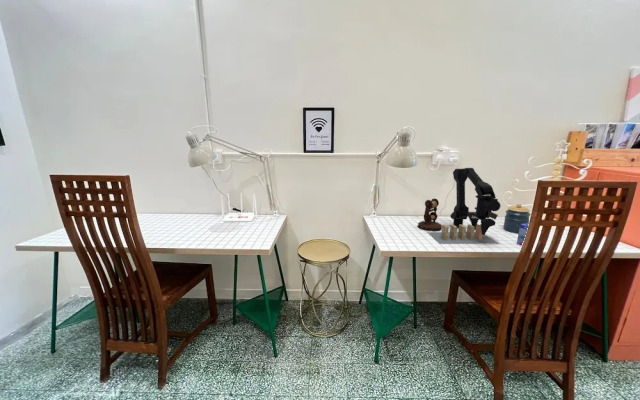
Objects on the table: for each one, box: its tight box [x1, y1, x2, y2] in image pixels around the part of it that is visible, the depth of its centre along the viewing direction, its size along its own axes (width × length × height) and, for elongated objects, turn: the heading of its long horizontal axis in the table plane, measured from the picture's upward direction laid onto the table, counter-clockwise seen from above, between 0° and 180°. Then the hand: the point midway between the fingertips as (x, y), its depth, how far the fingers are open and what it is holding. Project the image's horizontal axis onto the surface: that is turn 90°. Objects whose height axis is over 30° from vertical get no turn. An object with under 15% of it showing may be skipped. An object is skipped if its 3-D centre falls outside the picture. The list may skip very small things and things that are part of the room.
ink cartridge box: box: [516, 223, 529, 246], centre depth 147 cm, size 10×6×14 cm, turn 114°
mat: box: [426, 231, 501, 245], centre depth 160 cm, size 19×34×1 cm, turn 89°
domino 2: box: [449, 224, 458, 240], centre depth 157 cm, size 2×5×8 cm, turn 179°
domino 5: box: [474, 223, 483, 240], centre depth 157 cm, size 2×5×8 cm, turn 178°
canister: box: [502, 203, 532, 234], centre depth 170 cm, size 13×13×18 cm
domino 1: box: [441, 224, 450, 240], centre depth 157 cm, size 2×5×8 cm, turn 179°
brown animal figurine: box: [417, 198, 443, 232], centre depth 176 cm, size 15×15×20 cm
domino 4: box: [466, 223, 475, 240], centre depth 157 cm, size 2×5×8 cm, turn 179°
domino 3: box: [457, 224, 467, 240], centre depth 157 cm, size 2×5×8 cm, turn 179°
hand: (478, 232), depth 157 cm, fingers open, 9 cm apart
